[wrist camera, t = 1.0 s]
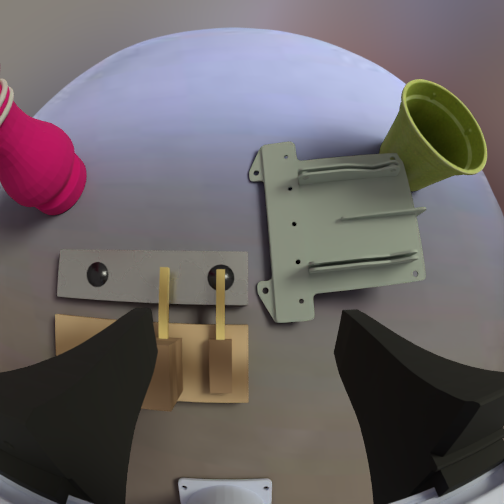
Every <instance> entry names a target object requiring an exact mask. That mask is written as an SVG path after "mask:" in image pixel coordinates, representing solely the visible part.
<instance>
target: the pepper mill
mask: <svg viewBox="0 0 504 504" xmlns="http://www.w3.org/2000/svg"><path fill="white" fill-rule="evenodd" d="M13 99H14V92H13V89H12V88H10V87H9V86H8V84H7V82H6V81H5V80H4V79H0V182H1V184H2V186H3V188H4V189H5V191H6V192H7V194H8V195H9V196H10V197H11V198H12V199H14V200H15V201H16V202H17V203H18V204H20V205H22V206H26V207H36V208H37V209H39V210H40V211H42V212H43V213H45V214H48V215H58V214H61V213H63V212H65V211H67V210H68V209H70V208H71V207H72V206H73V205H74V204H75V203H76V202H77V200H78V199H79V197H80V196H81V194H82V192H83V190H84V187H85V183H86V168H85V165H84V163H83V162H82V161H81V159H80V158H79V157H78V156H77V155H76V154H75V153H74V146H73V144H72V141H71V139H70V138H69V136H68V135H67V134H66V133H65V132H64V131H63V130H62V129H60V128H59V127H57V126H55V125H53V124H52V123H48V122H44V121H40V120H37V119H34V118H32V117H30V116H28V115H26V114H25V113H24V112H23V111H22V110H21V109H20V108H19V107H17V105H16V104H15V102H14V101H13Z"/></svg>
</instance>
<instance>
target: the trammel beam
mask: <svg viewBox="0 0 504 504" xmlns="http://www.w3.org/2000/svg"><path fill="white" fill-rule="evenodd" d="M115 321H117V320H114V319H102V318H92V317H82V316H73V315H64V314H55V339H56V356H58V355H60V354H62V353H64V352H66V351H68V350H70V349H72V348H74V347H76V346H78V345H79V344H81V343H83V342H85V341H86V340H88V339H89V338H91V337H93V336H94V335H96V334H97V333H99V332H101V331H102V330H103V329H105V328H106V327H108V326H109V325H111V324H112V323H114V322H115ZM153 325H154V331H155V337H159V322H153ZM169 337H171V338H182V366H183V392H182V393H181V395H180V397H179V399H178V400H177V401H187V402H214V403H248V325H231V324H225V269H217V270H216V324H183V323H169Z"/></svg>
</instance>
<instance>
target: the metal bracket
mask: <svg viewBox="0 0 504 504" xmlns="http://www.w3.org/2000/svg"><path fill="white" fill-rule="evenodd" d="M285 156H288V158H287V159H285V158H284V157H285ZM390 157H393V158H394V159H395V160H390ZM255 171H258V172H259V174H258V175H257V176H255V175H254V172H255ZM249 178H250V180H251V181H252V182H258V181H262V182H264V187H265V198H266V210H267V221H268V233H269V245H270V257H271V269H272V278H271V279H270V280H268V281H261V282H259V283H258V285H257V288H258V294H259V296H260V298H261V299H262V301H263V303H264V304H265V306H266V308H267V310H268V311H269V313H270V315H271V316H272V318H273V320H274V321H275V322H276V323H285V322H297V321H309V320H312V319H313V318H314V302H313V297H314V295H315V294H317V293H326V292H336V291H345V290H353V289H362V288H370V287H378V286H385V285H393V284H400V283H407V282H414V281H421V280H424V279H425V277H426V274H425V266H424V259H423V252H422V246H421V240H420V234H419V228H418V223H417V218H416V217H417V216H418V215H420V214H421V213H423V212H424V211H425V210H426V207H420V208H414V204H413V199H412V195H411V191H410V187H409V183H408V179H407V175H406V171H405V167H404V164H403V161H402V160H401V159H400V157H399V156H398V154H397V153H385V154H369V155H356V156H344V157H333V158H323V159H313V160H304V161H299V160H298V159H297V156H296V150H295V145H294V143H292V142H282V143H275V144H268V145H264V146H263V147H261V148H260V149H259V151H258V154H257V156H256V158H255V160H254V163H253V165H252V167H251V169H250V171H249ZM290 187H291V188H292V190H291V191H289V190H288V188H290ZM293 222H295V223H296V226H292V223H293ZM296 260H300V261H301V262H300V264H296ZM413 271H416V272H417V273H418V276H417V277H414V276H413ZM265 287H266V288H268V289H269V292H268V293H267V294H264V293H263V292H262V290H263V288H265ZM300 299H303V300H304V303H302V304H300V303H299V300H300Z"/></svg>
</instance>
